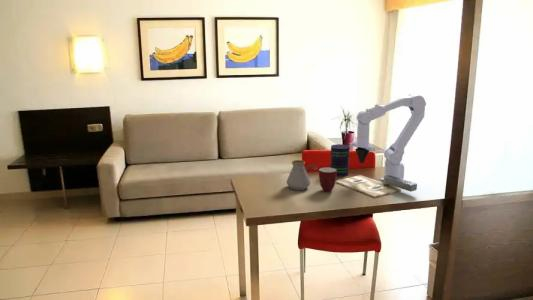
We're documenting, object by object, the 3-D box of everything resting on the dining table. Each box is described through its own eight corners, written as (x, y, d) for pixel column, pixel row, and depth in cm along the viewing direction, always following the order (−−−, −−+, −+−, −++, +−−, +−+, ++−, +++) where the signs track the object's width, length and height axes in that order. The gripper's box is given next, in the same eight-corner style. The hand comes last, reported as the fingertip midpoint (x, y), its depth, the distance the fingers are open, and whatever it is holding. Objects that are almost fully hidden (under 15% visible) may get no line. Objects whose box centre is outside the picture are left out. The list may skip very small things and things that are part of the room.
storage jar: (336, 177, 203) (336, 149, 199) (326, 172, 212) (327, 145, 208) (352, 175, 206) (353, 147, 203) (342, 170, 215) (343, 143, 211)
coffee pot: (282, 185, 191) (282, 156, 187) (303, 182, 195) (303, 153, 192) (304, 199, 172) (304, 167, 168) (326, 195, 176) (327, 163, 173)
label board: (360, 176, 203) (360, 174, 203) (400, 190, 182) (400, 188, 181) (335, 182, 195) (335, 180, 194) (374, 197, 173) (374, 195, 173)
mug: (340, 194, 178) (340, 173, 175) (323, 195, 177) (323, 174, 174) (332, 187, 188) (333, 167, 186) (316, 188, 187) (316, 168, 184)
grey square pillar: (381, 184, 187) (382, 175, 186) (387, 183, 189) (387, 174, 188) (410, 194, 173) (411, 185, 172) (416, 192, 175) (417, 183, 174)
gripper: (346, 134, 195) (345, 160, 199) (368, 139, 183) (366, 167, 187) (357, 132, 199) (356, 158, 202) (378, 137, 187) (377, 164, 190)
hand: (361, 162), depth 195 cm, fingers closed
